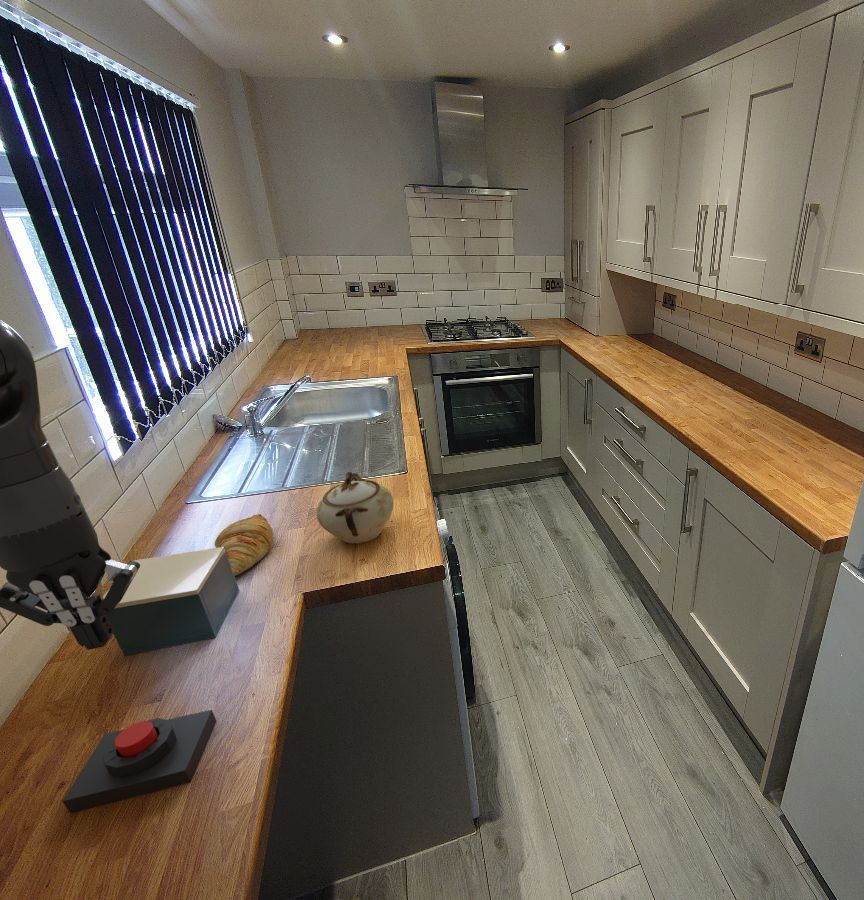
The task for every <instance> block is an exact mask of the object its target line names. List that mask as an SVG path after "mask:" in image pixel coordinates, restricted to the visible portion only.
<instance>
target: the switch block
mask: <svg viewBox="0 0 864 900" xmlns="http://www.w3.org/2000/svg"><path fill="white" fill-rule="evenodd" d="M146 721H149V722H151V723H152V724H153V726H154V728H155V730H156V732H157V739H156V741H155V742H154V743H153V744H152V745H151V746H150V747H149V748H148V749H146V750H144V751H142V752H141V753H139V754H137V755H135V756H131V757H123V756H121V755H120V753H119V751H118V749H117V747H116V746H115V739H116V738H117V736H118V735H119V734H120V733H121V732H122V731H123V730H124V729H121V730H116V731H111V732H108V733H104V734H103V736H102V737H101V739H100V740H99V742H98V744H97V745H96V747H95V749H94V750H93V752H92V753H91V755H90V757H89V758H88V760H87V761H86V763H85V765H84V766H83V768H82V769H81V771H80V772H79V774H78V775H77V776H76V779H75V780H74V782H73V784H72V785H71V787H70V789H69V790H68V791H67V793H66V795H65V796H64V798H63V799H62V803H63V805H64V806H65V808H66V809H67V811H68V812H69V814H73V813H78V812H81V811H85V810H89V809H93V808H97V807H101V806H105V805H108V804H109V805H110V804H113V803H116V802H120V801H123V800H124V801H125V800H128V799H132V798H136V797H140V796H143V795H148V794H152V793H156V792H159V791H164V790H167V789H170V788H171V789H172V788H175V787H179V786H183V785H187V784H190V783H192V781H193V779H194V776H195V773H196V771H197V769H198V767H199V764H200V761H201V759H202V757H203V755H204V752H205V751H206V750H205V749H206V747H207V745H208V742H209V741H210V737H211V735H212V733H213V732H214V731H213V730H214V728H215V726H216V723H217V719H216V717H215V714H214V711H213V710H212V709H209V710H204V711H200V712H196V713H195V712H194V713H192V714H191V713H190V714H187V715H183V716H177V717H174V718H169V719H164V718H159V717H157V718H153V719H152V718H151V719H148V720H146Z"/></svg>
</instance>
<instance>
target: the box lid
mask: <svg viewBox="0 0 864 900" xmlns="http://www.w3.org/2000/svg"><path fill="white" fill-rule="evenodd" d="M224 551H225V549H224V547H219V548H216V547H214V548H207V549H201V550H194V551H186V552H180V553H175V554H174V553H173V554H168V555H161V556H154V557H147V558H141V559H135V560H133V561H136V562H138V563H139V564H140V568H139V570H138V571H137V573H136V575H135V577H134V578H133V580H132V582H131V584H130V586H129V587H128V589H127V591H126V593H125V594H124V596H123V598H122V600H121V601H120V602H119V603H118V604H117V605H116V606H115V608H120V607H126V606H131V605H137V604H143V603H149V602H155V601H161V600H166V599H172V598H178V597H184V596H190V595H196V594H199V592H200V590H201V589H202V587H203V585H204V584H205V582H206V580H207V579H208V577H209V576H210V574H211V572H212V571H213V569H214V567H215V566H216V564H217V563H218V561H219V559H220V558H221V556H222V554H223V553H224ZM108 591H109V589H108V590H107V591H106V592H105V593H104V594H103V595H102V596H103V598H105V596H106V595H107V593H108Z"/></svg>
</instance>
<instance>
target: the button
mask: <svg viewBox="0 0 864 900" xmlns="http://www.w3.org/2000/svg"><path fill="white" fill-rule="evenodd" d="M122 730H123V731H122V732H121V733H120V734H119V735H118V736H117V738H116V739H115V746H116V747H117V749H118V751H119V753H120V755H121V756H123V757H131V756H135V755H137V754H139V753H141V752H142V751H144V750H146V749H148V748H149V747H150V746H151V745H152V744H153V743H154V742H155V741H156V739H157V732H156V730H155V728H154V726H153V724H152V723H151V722H149V721H147V720H142V721H138V722H135V723H132V724H131V725H129V726H127V727H125V728H124V729H122Z"/></svg>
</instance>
